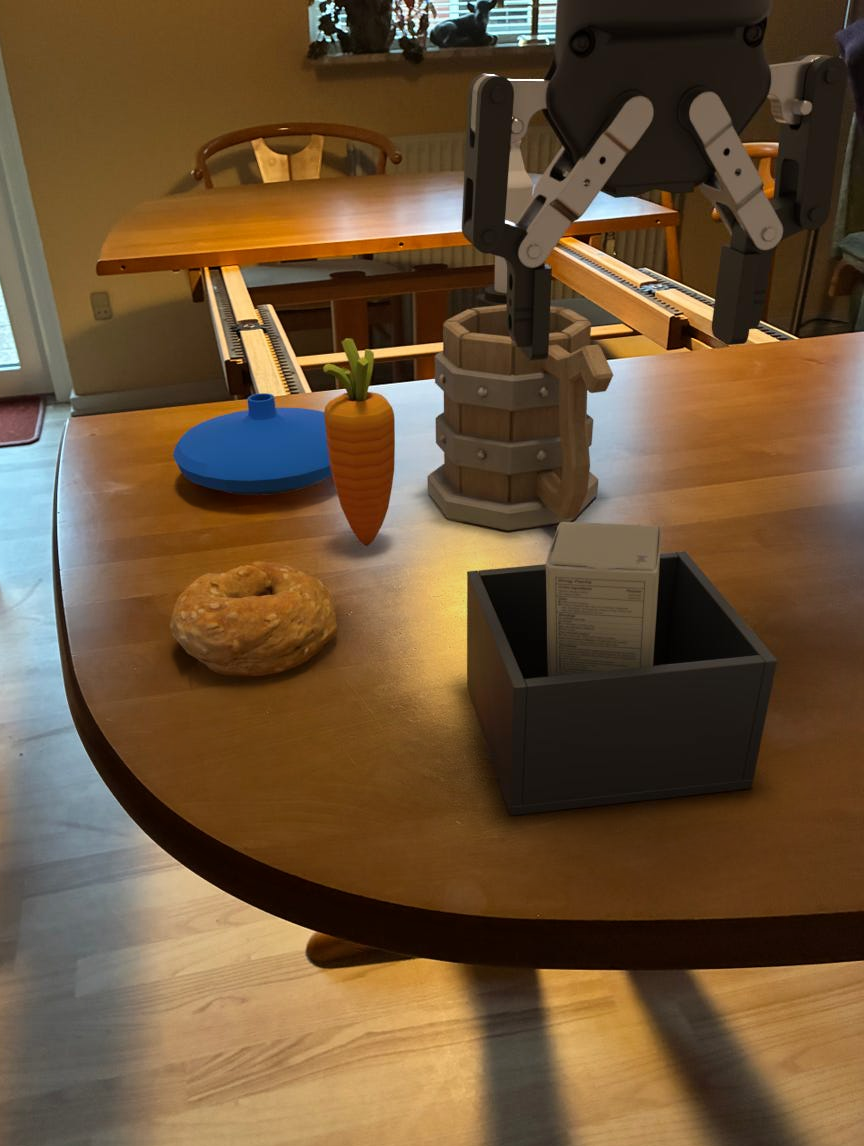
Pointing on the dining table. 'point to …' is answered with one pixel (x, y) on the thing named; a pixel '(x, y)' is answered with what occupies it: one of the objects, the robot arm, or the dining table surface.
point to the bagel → (254, 619)
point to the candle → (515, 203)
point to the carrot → (360, 445)
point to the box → (601, 597)
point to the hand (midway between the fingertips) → (632, 347)
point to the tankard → (515, 421)
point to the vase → (256, 449)
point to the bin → (616, 697)
